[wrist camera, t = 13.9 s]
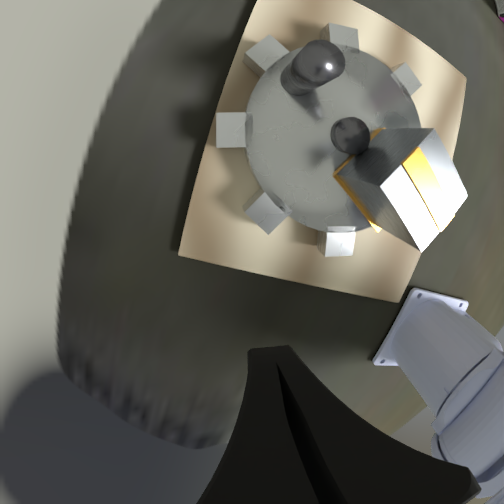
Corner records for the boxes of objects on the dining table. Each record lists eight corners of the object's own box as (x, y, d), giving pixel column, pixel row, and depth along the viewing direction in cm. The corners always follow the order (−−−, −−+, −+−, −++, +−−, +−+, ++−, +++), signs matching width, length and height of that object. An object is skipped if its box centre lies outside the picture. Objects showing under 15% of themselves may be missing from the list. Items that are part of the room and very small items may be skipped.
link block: (382, 129, 14) (435, 128, 9) (416, 181, 15) (469, 196, 11) (336, 174, 14) (381, 186, 10) (375, 225, 16) (423, 252, 11)
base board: (461, 78, 15) (466, 78, 14) (394, 299, 21) (398, 303, 20) (269, -26, 11) (270, -31, 11) (179, 251, 17) (177, 255, 17)
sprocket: (330, -1, 12) (368, -40, 7) (449, 155, 16) (504, 165, 11) (164, 134, 14) (137, 127, 9) (325, 287, 19) (359, 336, 13)
